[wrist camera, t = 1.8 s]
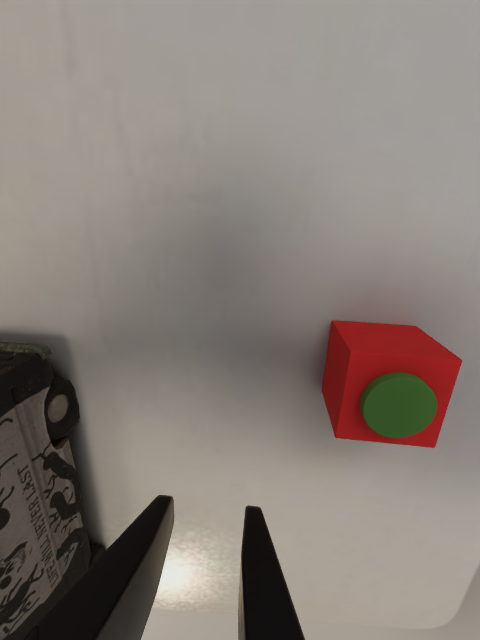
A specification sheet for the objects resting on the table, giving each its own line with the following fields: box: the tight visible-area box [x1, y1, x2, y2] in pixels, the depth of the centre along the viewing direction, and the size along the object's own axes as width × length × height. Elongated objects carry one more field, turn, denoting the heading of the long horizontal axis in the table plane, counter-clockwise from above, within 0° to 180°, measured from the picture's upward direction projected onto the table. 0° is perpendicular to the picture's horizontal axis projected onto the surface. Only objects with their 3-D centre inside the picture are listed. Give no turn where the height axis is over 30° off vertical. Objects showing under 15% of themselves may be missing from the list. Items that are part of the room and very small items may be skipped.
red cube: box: [322, 321, 462, 448], centre depth 16 cm, size 5×5×5 cm
